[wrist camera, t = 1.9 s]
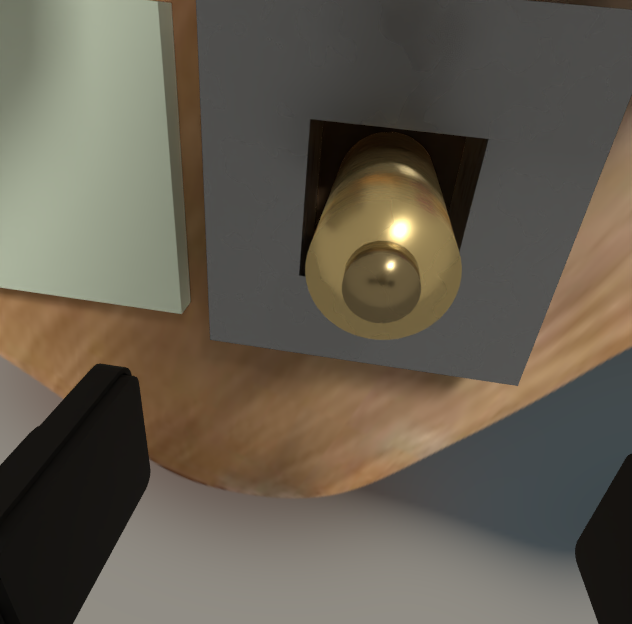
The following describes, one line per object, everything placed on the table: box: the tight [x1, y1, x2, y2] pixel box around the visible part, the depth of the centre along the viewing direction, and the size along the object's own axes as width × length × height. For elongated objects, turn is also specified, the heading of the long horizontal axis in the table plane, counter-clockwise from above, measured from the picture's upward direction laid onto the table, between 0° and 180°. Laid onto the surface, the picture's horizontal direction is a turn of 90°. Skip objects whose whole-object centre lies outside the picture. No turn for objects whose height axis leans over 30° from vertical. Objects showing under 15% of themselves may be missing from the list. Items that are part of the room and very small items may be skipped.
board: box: [0, 0, 191, 314], centre depth 26 cm, size 16×14×2 cm
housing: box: [196, 0, 632, 386], centre depth 23 cm, size 16×16×5 cm
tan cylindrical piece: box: [305, 132, 462, 340], centre depth 20 cm, size 5×5×12 cm
